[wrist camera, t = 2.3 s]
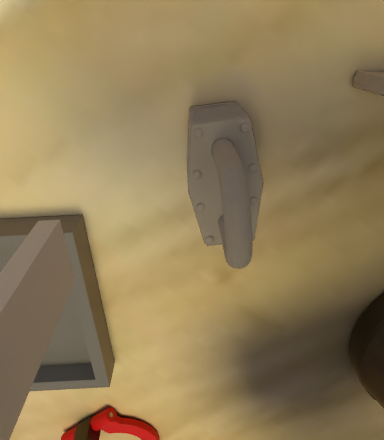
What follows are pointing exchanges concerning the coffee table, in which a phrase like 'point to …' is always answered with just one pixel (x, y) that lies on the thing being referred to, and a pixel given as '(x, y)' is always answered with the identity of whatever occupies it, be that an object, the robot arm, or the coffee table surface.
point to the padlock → (224, 178)
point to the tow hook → (110, 427)
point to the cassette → (370, 81)
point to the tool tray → (69, 313)
